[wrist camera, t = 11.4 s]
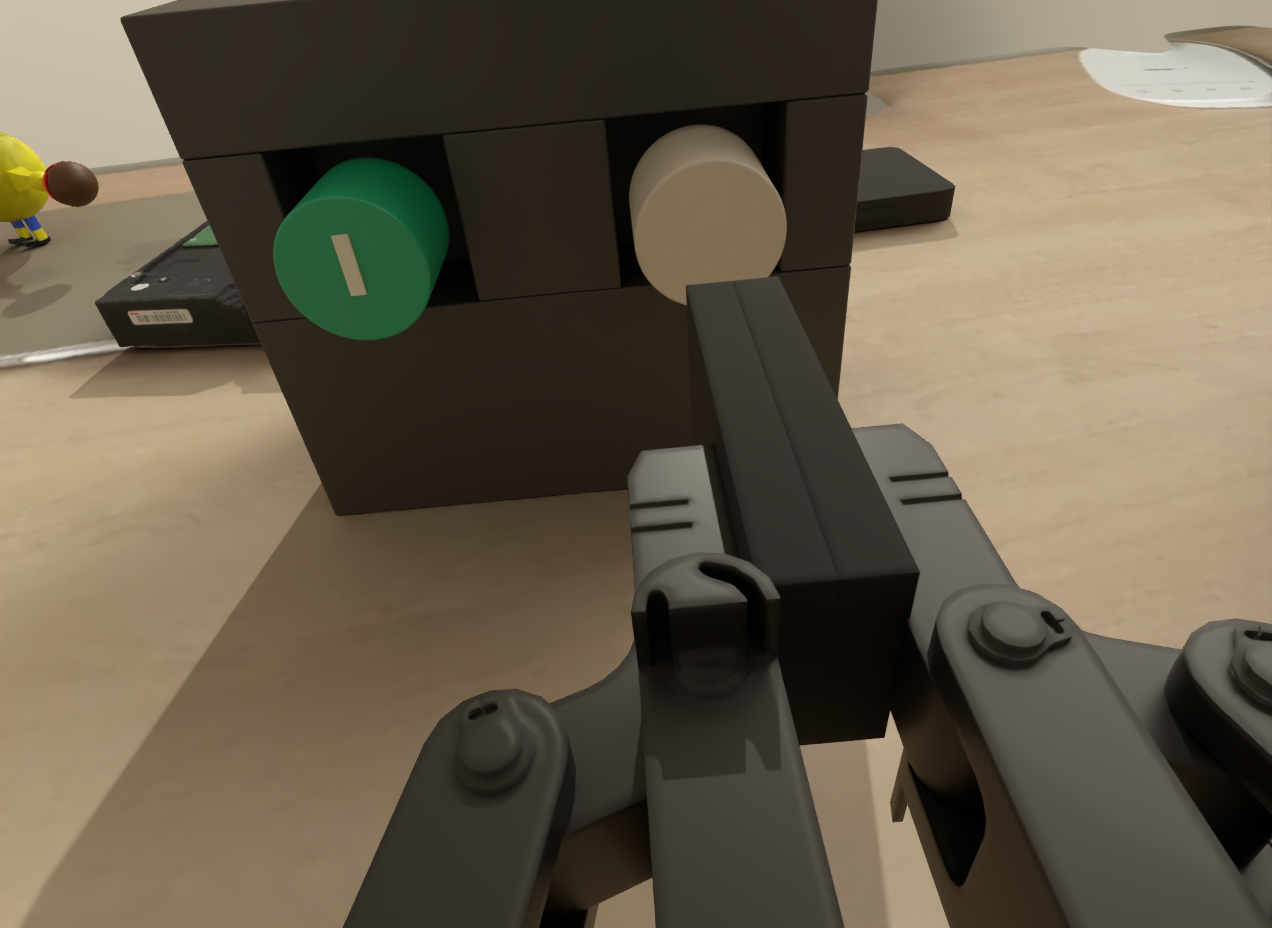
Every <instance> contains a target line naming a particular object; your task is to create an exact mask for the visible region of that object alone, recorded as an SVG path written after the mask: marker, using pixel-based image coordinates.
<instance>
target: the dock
mask: <svg viewBox="0 0 1272 928" xmlns="http://www.w3.org/2000/svg"><path fill="white" fill-rule="evenodd" d="M877 2H878V0H177V1H173V2H170V3H167V4H164V5H160V6H157V7H153V8H150V9H146V10H143V11H140V12H136V13H133V14H130V15H126V16H123V17H121V23H122V25H123V27H124V30H125V32H126V34H127V37H128V39H129V41H130V43H131V46H132V48H133V50H134V53H135V55H136V57H137V60H138V62H139V64H140V66H141V69H142V71H143V73H144V76H145V78H146V80H147V82H148V85H149V87H150V89H151V91H152V94H153V96H154V99H155V101H156V103H157V105H158V108H159V110H160V112H161V115H162V117H163V119H164V122H165V124H166V126H167V128H168V131H169V133H170V135H171V138H172V140H173V142H174V144H175V147H176V149H177V151H178V154H179V156H180V158H181V159H184V160H183V165H184V168H185V170H186V172H187V174H188V177H189V179H190V181H191V184H192V186H193V188H194V191H195V193H196V195H197V197H198V200H199V202H200V204H201V207H202V209H203V211H204V213H205V216H206V218H207V220H208V223H209V225H210V227H211V229H212V232H213V234H214V236H215V239H216V241H217V243H218V246H219V248H220V250H221V252H222V255H223V257H224V259H225V262H226V264H227V266H228V268H229V271H230V273H231V275H232V278H233V280H234V282H235V285H236V287H237V289H238V291H239V294H240V296H241V298H242V301H243V303H244V305H245V307H246V310H247V312H248V314H249V317H250V319H251V321H252V322H254V323H253V326H254V328H255V331H256V333H257V335H258V338H259V340H260V342H261V344H262V347H263V349H264V351H265V354H266V356H267V358H268V360H269V363H270V365H271V367H272V370H273V372H274V374H275V377H276V379H277V381H278V383H279V386H280V388H281V390H282V393H283V395H284V397H285V399H286V402H287V404H288V406H289V409H290V411H291V413H292V415H293V418H294V420H295V422H296V425H297V427H298V429H299V432H300V434H301V436H302V438H303V441H304V443H305V445H306V448H307V450H308V452H309V454H310V457H311V459H312V461H313V464H314V466H315V468H316V470H317V473H318V475H319V477H320V480H321V482H322V484H323V487H324V489H325V491H326V493H327V496H328V498H329V500H330V503H331V505H332V507H333V509H334V512H335V514H336V515H346V514H356V513H367V512H378V511H389V510H400V509H410V508H421V507H432V506H443V505H453V504H464V503H475V502H486V501H496V500H507V499H518V498H529V497H540V496H550V495H561V494H572V493H583V492H593V491H604V490H615V489H626V488H628V475H629V473H630V471H631V469H632V467H633V465H634V463H635V462H636V460H637V458H638V456H639V454H640V452H641V451H646V450H656V449H667V448H677V447H688V446H696V443H695V438H694V433H693V428H692V419H691V396H690V373H689V349H688V326H687V305H684V304H681V303H678V302H675V301H673V300H671V299H669V298H667V297H666V296H665V295H663V294H662V293H660V292H659V291H658V290H657V289H656V288H655V287H653V285H652V284H651V283H650V282H649V281H648V280H647V278H646V277H645V275H644V273H643V272H642V270H641V267H640V265H639V263H638V260H637V256H636V252H635V245H634V237H633V229H632V221H631V213H630V204H629V191H630V184H631V180H632V176H633V173H634V171H635V168H636V166H637V164H638V162H639V161H640V159H641V157H642V156H643V155H644V153H645V152H646V151H647V150H648V149H649V147H650V146H651V145H652V144H653V143H655V142H656V141H657V140H658V139H659V138H661V137H663V136H664V135H666V134H667V133H669V132H671V131H674V130H676V129H679V128H682V127H685V126H691V125H712V126H717V127H720V128H723V129H726V130H728V131H730V132H732V133H734V134H735V135H737V136H738V137H740V138H741V139H742V140H743V141H745V142H746V144H747V145H748V146H749V147H750V148H751V149H752V151H753V152H754V154H755V155H756V157H757V159H758V160H759V162H760V164H761V165H762V167H763V169H764V170H765V172H766V174H767V175H768V177H769V179H770V180H771V182H772V184H773V185H774V187H775V189H776V190H777V192H778V194H779V196H780V198H781V200H782V203H783V206H784V209H785V215H786V225H787V231H786V240H785V244H784V248H783V251H782V254H781V256H780V259H779V261H778V263H777V264H776V266H775V268H774V269H773V271H772V272H771V274H770V275H769V276H768V277H776V276H778V277H779V279H780V281H781V283H782V285H783V287H784V289H785V291H786V293H787V295H788V297H789V300H790V302H791V304H792V306H793V308H794V310H795V312H796V314H797V316H798V318H799V320H800V322H801V325H802V327H803V329H804V331H805V333H806V335H807V337H808V339H809V341H810V343H811V345H812V347H813V350H814V352H815V354H816V356H817V358H818V360H819V362H820V364H821V366H822V368H823V370H824V372H825V375H826V377H827V379H828V381H829V383H830V385H831V387H832V389H833V391H834V393H835V395H836V398H837V400H838V391H839V381H840V371H841V361H842V351H843V341H844V331H845V322H846V312H847V302H848V292H849V282H850V272H851V266H850V265H849V264H850V263H851V258H852V248H853V238H854V228H855V218H856V208H857V198H858V188H859V178H860V168H861V158H862V148H863V138H864V128H865V118H866V108H867V94H866V92H868V89H869V81H870V71H871V61H872V51H873V41H874V31H875V21H876V12H877ZM364 157H371V158H380V159H384V160H388V161H391V162H394V163H397V164H399V165H401V166H403V167H405V168H407V169H409V170H410V171H412V172H413V173H415V174H416V175H417V176H419V177H420V178H421V179H422V180H423V181H424V182H425V183H426V184H427V185H428V186H429V187H430V188H431V189H432V191H433V192H434V193H435V195H436V196H437V198H438V199H439V201H440V203H441V205H442V207H443V209H444V211H445V214H446V217H447V221H448V226H449V246H448V250H447V254H446V257H445V259H444V262H443V264H442V267H441V270H440V272H439V275H438V278H437V280H436V283H435V285H434V288H433V291H432V293H431V296H430V299H429V301H428V304H427V306H426V308H425V310H424V312H423V313H422V315H421V316H420V317H419V319H418V320H417V321H416V322H415V323H414V324H413V325H412V326H410V327H409V328H408V329H406V330H404V331H403V332H401V333H399V334H397V335H394V336H391V337H388V338H384V339H378V340H356V339H351V338H346V337H342V336H339V335H336V334H334V333H331V332H329V331H327V330H325V329H323V328H321V327H319V326H318V325H316V324H315V323H313V322H312V321H310V320H309V319H308V318H307V317H305V316H304V315H303V314H302V313H301V312H300V311H299V310H298V309H297V308H296V307H295V306H294V305H293V304H292V302H291V301H290V300H289V298H288V297H287V295H286V294H285V292H284V291H283V289H282V287H281V284H280V282H279V280H278V277H277V274H276V271H275V266H274V259H273V248H274V241H275V237H276V234H277V231H278V229H279V227H280V225H281V223H282V222H283V221H284V219H285V218H286V216H287V215H288V214H289V213H290V212H291V211H292V210H293V209H294V208H295V206H296V205H297V204H298V203H299V202H300V201H301V200H302V199H303V197H304V196H305V195H306V194H307V193H308V192H309V191H310V190H311V189H312V187H313V186H314V185H315V184H316V183H317V182H318V181H319V180H320V179H321V177H322V176H323V175H324V174H325V173H326V172H327V171H328V170H330V169H331V168H333V167H334V166H335V165H337V164H339V163H341V162H344V161H347V160H350V159H355V158H364Z"/></svg>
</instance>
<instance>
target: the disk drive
mask: <svg viewBox="0 0 1272 928" xmlns="http://www.w3.org/2000/svg"><path fill="white" fill-rule="evenodd" d="M95 305H96V306H97V308H98V310H99V312H100V313H101V315H102V317H103V319H104V320H105V322H106V324H107V326H108V328H109V329H110V331H111V333H112V334H113V336H114V338H115V339H116V341H117V343H118V345H119V346H120V347H128V346H136V347H138V348H143V347H150V348H166V347H168V348H171V347H193V346H221V345H250V344H251V345H253V344H261V342H260V340H259V338H258V335H257V333H256V331H255V328H254V326H253V323H254V322H252V321H251V319H250V317H249V314H248V312H247V310H246V307H245V305H244V303H243V301H242V298H241V296H240V294H239V291H238V289H237V287H236V285H235V282H234V280H233V278H232V275H231V273H230V271H229V268H228V266H227V264H226V262H225V259H224V257H223V255H222V252H221V250H220V248H219V246H218V243H217V241H216V239H215V236H214V234H213V232H212V229H211V227H210V225H209V223H208V221H206V222H205V223H203V224H202V225H200V226H199V227H198V228H197V229H195V230H194V231H192V232H190V234H188V235H187V236H185V237H184V238H183V239H180V241H178V242H176V244H175V245H173V246H172V247H170V248H168V249H167V250H165V251H164V252H163V253H161V254H160V255H159V256H157V257H156V258H154V259H153V260H151V261H150V262H149V263H147V264H146V265H144V266H143V267H141V268H140V269H139V270H138V271H136V272H135V273H133V275H131V276H129V277H128V278H126V279H124V280H123V281H121V282H120V283H119V284H117V285H116V286H114V287H113V288H112V289H111V290H109V291H108V292H107V293H106V294H105V295H104V296H103V297H101V298H100V299H98V300H97V301H95Z"/></svg>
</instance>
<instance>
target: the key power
mask: <svg viewBox="0 0 1272 928" xmlns="http://www.w3.org/2000/svg"><path fill="white" fill-rule="evenodd" d="M448 246H449V226H448V221H447V217H446V214H445V211H444V209H443V207H442V205H441V203H440V201H439V199H438V198H437V196H436V195H435V193H434V192H433V191H432V189H431V188H430V187H429V186H428V185H427V184H426V183H425V182H424V181H423V180H422V179H421V178H420V177H419V176H417V175H416V174H415V173H413V172H412V171H410V170H409V169H407V168H405V167H403V166H401V165H399V164H397V163H394V162H391V161H388V160H384V159H380V158H371V157H364V158H355V159H350V160H347V161H344V162H341V163H339V164H337V165H335V166H334V167H333V168H331V169H330V170H328V171H327V172H326V173H325V174H324V175H323V176H322V177H321V179H320V180H319V181H318V182H317V183H316V184H315V185H314V186H313V187H312V189H311V190H310V191H309V192H308V193H307V194H306V195H305V196H304V197H303V199H302V200H301V201H300V202H299V203H298V204H297V205H296V206H295V208H294V209H293V210H292V211H291V212H290V213H289V214H288V215H287V216H286V218H285V219H284V221H283V222H282V223H281V225H280V227H279V229H278V231H277V234H276V237H275V241H274V248H273V259H274V266H275V271H276V274H277V277H278V280H279V282H280V284H281V287H282V289H283V291H284V292H285V294H286V295H287V297H288V298H289V300H290V301H291V302H292V304H293V305H294V306H295V307H296V308H297V309H298V310H299V311H300V312H301V313H302V314H303V315H304V316H305V317H307V318H308V319H309V320H310V321H312V322H313V323H315V324H316V325H318V326H319V327H321V328H323V329H325V330H327V331H329V332H331V333H334V334H336V335H339V336H342V337H346V338H351V339H356V340H378V339H384V338H388V337H391V336H394V335H397V334H399V333H401V332H403V331H404V330H406V329H408V328H409V327H410V326H412V325H413V324H414V323H415V322H416V321H417V320H418V319H419V317H420V316H421V315H422V313H423V312H424V310H425V308H426V306H427V304H428V301H429V299H430V296H431V293H432V291H433V288H434V285H435V283H436V280H437V278H438V275H439V272H440V270H441V267H442V264H443V262H444V259H445V257H446V254H447V250H448Z"/></svg>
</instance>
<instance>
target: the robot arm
mask: <svg viewBox="0 0 1272 928" xmlns="http://www.w3.org/2000/svg"><path fill="white" fill-rule="evenodd" d="M686 303H687V326H688V349H689V373H690V396H691V419H692V428H693V433H694V438H695V443H696V446H688V447H677V448H667V449H656V450H646V451H641V452H640V454H639V456H638V458H637V460H636V462H635V463H634V465H633V467H632V469H631V471H630V473H629V475H628V491H629V505H630V521H631V536H632V551H633V565H634V580H635V594H634V600H633V605H632V610H631V616H632V624H633V632H634V639H635V640H634V642H633V645H632V647H631V650H630V652H629V654H628V655H627V656H626V658H625V659H624V660H623V662H622V663H621V664H620V666H619V667H618V668H617V669H615V670H614V671H613V672H612V673H611V674H609V675H608V676H607V677H606V678H605V679H603V680H601V681H600V682H598V683H596V684H594V685H592V686H590V687H588V688H586V689H584V690H582V691H579V692H577V693H574V694H572V695H569V696H567V697H564V698H562V699H559V700H557V701H554V702H552V703H548V702H547V701H545V700H544V699H543V698H542V697H541V696H537V695H534V694H531V693H528V692H525V691H521V690H518V689H510V690H493V691H488V692H485V693H483V694H480V695H478V696H475V697H473V698H470V699H467V700H465V701H463V702H462V703H460V704H459V705H458V706H457V707H455V708H454V709H453V710H451V711H450V712H449V713H448V714H446V715H445V716H444V717H443V718H441V719H440V721H439V722H438V724H437V725H436V727H435V728H434V730H433V731H432V733H431V734H430V736H429V737H428V739H427V740H426V742H425V743H424V745H423V747H422V750H421V752H420V754H419V756H418V759H417V761H416V763H415V765H414V768H413V770H412V772H411V775H410V777H409V779H408V781H407V784H406V786H405V788H404V790H403V793H402V795H401V797H400V799H399V802H398V804H397V806H396V808H395V811H394V813H393V815H392V817H391V820H390V822H389V824H388V826H387V829H386V831H385V833H384V836H383V838H382V840H381V842H380V845H379V847H378V849H377V851H376V854H375V856H374V858H373V860H372V863H371V865H370V867H369V869H368V872H367V874H366V876H365V878H364V881H363V883H362V885H361V887H360V890H359V892H358V894H357V897H356V899H355V901H354V903H353V906H352V908H351V910H350V912H349V915H348V917H347V919H346V921H345V924H344V926H343V928H594V923H595V919H596V914H597V909H598V904H599V903H601V902H603V901H605V900H607V899H609V898H611V897H613V896H615V895H617V894H619V893H621V892H623V891H625V890H628V889H630V888H632V887H634V886H636V885H638V884H640V883H642V882H644V881H646V880H648V879H650V878H652V877H653V892H654V906H655V921H656V928H844V924H843V920H842V916H841V912H840V908H839V904H838V900H837V896H836V892H835V888H834V884H833V880H832V875H831V871H830V867H829V863H828V859H827V855H826V851H825V847H824V843H823V839H822V835H821V831H820V827H819V823H818V819H817V815H816V811H815V807H814V803H813V799H812V795H811V791H810V787H809V783H808V779H807V774H806V770H805V766H804V762H803V758H802V754H801V750H800V746H799V745H810V744H821V743H832V742H843V741H854V740H864V739H875V738H884V737H885V732H886V727H887V723H888V718H889V714H890V711H891V713H892V716H893V719H894V721H895V724H896V727H897V730H898V732H899V735H900V738H901V741H902V743H903V746H904V749H903V753H902V757H901V761H900V765H899V769H898V773H897V777H896V781H895V785H894V789H893V793H892V797H891V801H890V804H891V812H892V821H893V822H902V821H903V818H904V814H905V811H906V807H907V804H908V807H909V810H910V813H911V815H912V818H913V821H914V824H915V827H916V830H917V833H918V836H919V839H920V842H921V845H922V847H923V850H924V853H925V856H926V859H927V862H928V865H929V868H930V871H931V874H932V877H933V880H934V882H935V885H936V888H937V891H938V894H939V897H940V900H941V903H942V906H943V909H944V912H945V915H946V917H947V920H948V923H949V926H950V928H1272V625H1271V624H1268V623H1261V622H1255V621H1248V620H1242V619H1229V620H1221V621H1214V622H1208V623H1207V624H1205V625H1204V626H1202V627H1201V628H1199V629H1198V630H1196V631H1195V632H1193V633H1191V635H1190V637H1189V638H1188V640H1187V642H1186V644H1185V645H1184V647H1183V649H1182V650H1181V649H1175V648H1168V647H1162V646H1156V645H1150V644H1144V643H1138V642H1132V641H1126V640H1120V639H1113V638H1108V637H1104V636H1100V635H1096V634H1092V633H1088V632H1085V631H1082V630H1081V629H1080V628H1079V627H1078V625H1077V624H1076V623H1075V622H1074V621H1073V620H1072V619H1071V618H1070V617H1069V616H1068V615H1067V614H1066V613H1065V611H1064V610H1063V609H1062V608H1060V607H1058V606H1057V605H1055V604H1053V603H1052V602H1050V601H1048V600H1047V599H1045V598H1044V597H1042V596H1040V595H1039V594H1037V593H1034V592H1031V591H1028V590H1024V589H1021V588H1019V586H1018V585H1017V584H1016V582H1015V581H1014V579H1013V577H1012V576H1011V574H1010V572H1009V571H1008V569H1007V567H1006V566H1005V564H1004V563H1003V561H1002V559H1001V558H1000V556H999V554H998V553H997V551H996V549H995V548H994V546H993V544H992V543H991V541H990V540H989V538H988V536H987V535H986V533H985V531H984V530H983V528H982V526H981V525H980V523H979V521H978V520H977V518H976V516H975V515H974V513H973V512H972V510H971V508H970V507H969V505H968V503H967V502H966V500H965V499H964V500H962V493H961V492H960V490H959V489H958V487H957V485H956V484H955V482H954V480H953V479H952V477H949V476H948V470H947V469H946V467H945V465H944V464H943V462H942V461H941V459H940V457H939V456H938V454H937V452H936V451H935V449H934V447H933V446H932V445H931V444H930V443H929V442H927V441H926V440H925V439H923V438H922V437H920V436H919V435H918V434H916V433H915V432H914V431H912V430H911V429H909V428H908V427H907V426H905V425H904V424H892V425H882V426H871V427H861V428H851V427H850V425H849V423H848V420H847V418H846V416H845V414H844V412H843V410H842V408H841V406H840V404H839V402H838V400H837V398H836V395H835V393H834V391H833V389H832V387H831V385H830V383H829V381H828V379H827V377H826V375H825V372H824V370H823V368H822V366H821V364H820V362H819V360H818V358H817V356H816V354H815V352H814V350H813V347H812V345H811V343H810V341H809V339H808V337H807V335H806V333H805V331H804V329H803V327H802V325H801V322H800V320H799V318H798V316H797V314H796V312H795V310H794V308H793V306H792V304H791V302H790V300H789V297H788V295H787V293H786V291H785V289H784V287H783V285H782V283H781V281H780V279H779V277H778V276H776V277H766V278H755V279H745V280H735V281H724V282H714V283H704V284H694V285H686Z"/></svg>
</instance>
